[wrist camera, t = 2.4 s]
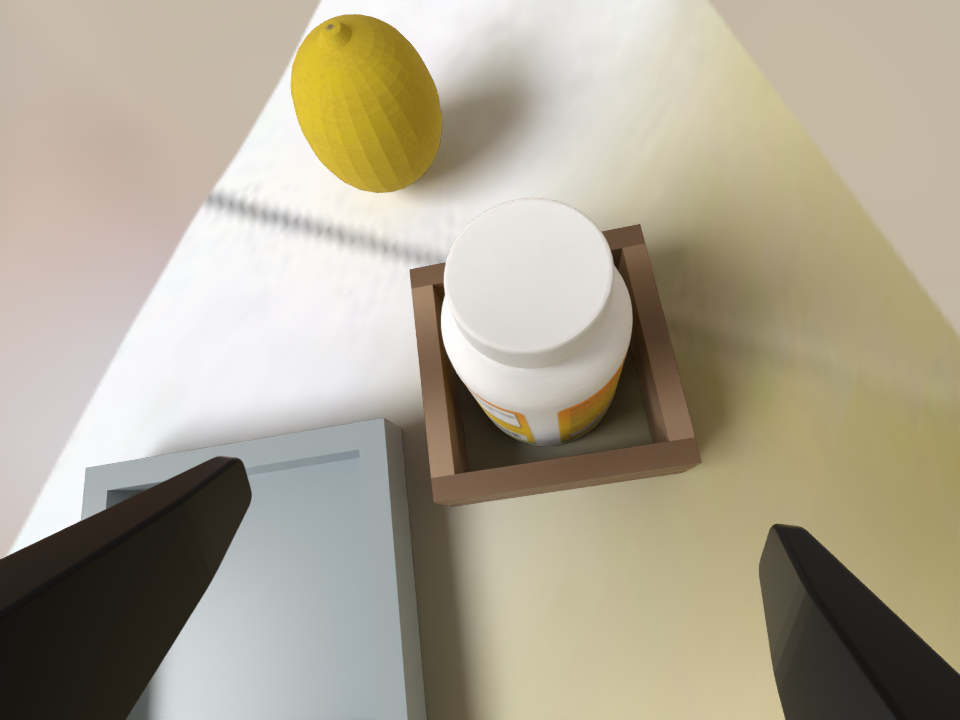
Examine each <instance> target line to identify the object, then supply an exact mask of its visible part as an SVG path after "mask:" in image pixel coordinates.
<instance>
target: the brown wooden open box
mask: <svg viewBox="0 0 960 720" xmlns="http://www.w3.org/2000/svg"><path fill="white" fill-rule="evenodd" d="M602 233H603V235H604V237H605V238H606V240H607V242H608V245H609V247H610V250H611V253H612V256H613V262H614V266H615V267H616V269H617V270H618V272H619V273H620V275H621V277H622V278H623V280H624V283H625V285H626V287H627V290H628V293H629V296H630V300H631V305H632V316H633V317H632V332H631V338H630V346H631V350H632V354H633V359H634V363H635V367H636V371H637V376H638V380H639V384H640V389H641V393H642V397H643V402H644V406H645V410H646V414H647V419H648V423H649V427H650V432H651V436H652V440H653V444H648V445H642V446H635V447H629V448H622V449H616V450H609V451H603V452H596V453H590V454H583V455H577V456H570V457H564V458H557V459H551V460H544V461H538V462H531V463H525V464H519V465H512V466H506V467H499V468H493V469H486V470H480V471H473V472H469V470H468V462H467V454H466V446H465V438H464V430H463V422H462V414H461V406H460V398H459V390H458V382H457V373H456V371H455V369H454V367H453V365H452V363H451V361H450V359H449V356H448V354H447V352H446V349H445V346H444V342H443V337H442V330H441V313H442V306H443V301H444V297H445V290H444V271H445V265H446V262H445V263H440V264H435V265H430V266H425V267H420V268H415V269H410V279H411V288H412V298H413V308H414V318H415V327H416V337H417V347H418V357H419V366H420V376H421V386H422V396H423V405H424V415H425V425H426V435H427V444H428V454H429V464H430V474H431V483H432V493H433V503H438V504H442V505H447V506H451V507H453V506H460V505H467V504H474V503H480V502H487V501H494V500H501V499H507V498H514V497H521V496H528V495H534V494H541V493H548V492H555V491H561V490H568V489H575V488H582V487H588V486H595V485H602V484H609V483H615V482H622V481H629V480H636V479H642V478H649V477H656V476H663V475H669V474H676V473H683V472H685V471H687V470H689V469H690V468H692V467H694V466H696V465H698V464H700V463H702V462H701V459H700V455H699V451H698V447H697V443H696V439H695V435H694V431H693V428H692V424H691V420H690V416H689V412H688V408H687V404H686V400H685V396H684V393H683V389H682V385H681V381H680V377H679V373H678V369H677V365H676V362H675V358H674V354H673V350H672V346H671V342H670V338H669V334H668V330H667V327H666V323H665V319H664V315H663V311H662V307H661V303H660V299H659V296H658V292H657V288H656V284H655V280H654V276H653V272H652V268H651V264H650V261H649V257H648V253H647V249H646V245H645V241H644V237H643V233H642V230H641V226H640V224H638V225H633V226H628V227H623V228H618V229H613V230H608V231H603V232H602Z"/></svg>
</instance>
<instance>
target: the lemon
mask: <svg viewBox="0 0 960 720" xmlns="http://www.w3.org/2000/svg"><path fill="white" fill-rule="evenodd" d="M291 94H292V98H293V103H294V107H295V111H296V115H297V119H298V122H299V124H300V127H301V130H302V132H303V134H304V136H305V138H306V139H307V141H308V143H309V144H310V146H311V148H312V149H313V151H314V153H315V154H316V156H317V157H318V158H319V160H320V161H321V162H322V163H323V164H324V166H326V167H327V168H328V169H329V170H330V171H331V172H332V173H333V174H334V175H336V176H337V177H338V178H339V179H340V180H342V181H343V182H345V183H347V184H349V185H351V186H353V187H356V188H358V189H360V190H364V191H369V192H375V193H383V192H393V191H396V190H400V189H403V188H405V187H407V186H409V185H411V184H412V183H414V182H415V181H416V180H418V179H419V178H420V177H421V176H422V175H423V174H424V173H425V172H426V171H427V169H428V168H429V167H430V165H431V164H432V162H433V160H434V158H435V156H436V153H437V151H438V149H439V145H440V139H441V132H442V115H441V109H440V103H439V97H438V93H437V89H436V86H435V84H434V81H433V79H432V77H431V75H430V73H429V71H428V69H427V68H426V66H425V64H424V62H423V60H422V59H421V57H420V55H419V54H418V52H417V51H416V49H415V48H414V47H413V46H412V44H411V43H410V42H409V41H408V40H407V39H406V38H405V37H404V36H403V35H402V34H401V33H400V32H399V31H397V30H396V29H395V28H394V27H392V26H391V25H389V24H387V23H385V22H383V21H381V20H379V19H376V18H373V17H369V16H364V15H356V14H355V15H342V16H337V17H334V18H331V19H329V20H327V21H325V22H323V23H322V24H320V25H319V26H317V27H316V28H314V29H313V30H312V31H311V32H310V33H309V34H308V35H307V37H306V38H305V40H304V41H303V43H302V44H301V46H300V47H299V49H298V52H297V55H296V57H295V60H294V63H293V66H292V76H291Z"/></svg>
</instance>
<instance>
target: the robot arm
mask: <svg viewBox="0 0 960 720" xmlns="http://www.w3.org/2000/svg"><path fill="white" fill-rule="evenodd" d="M251 499H252V491H251V487H250V483H249V480H248V476H247V473H246V469H245V466H244V463H243V461H242V460H241V459H240V458H237V457H230V456H216V457H214V458H212V459H210V460H208V461H205V462H203V463H201V464H199V465H197V466H195V467H193V468H191V469H189V470H187V471H184V472H182V473H180V474H178V475H176V476H174V477H172V478H170V479H168V480H166V481H164V482H161V483H159V484H157V485H155V486H153V487H151V488H149V489H147V490H145V491H143V492H141V493H138V494H136V495H134V496H132V497H130V498H128V499H126V500H124V501H122V502H120V503H118V504H115V505H113V506H111V507H109V508H107V509H105V510H103V511H101V512H99V513H97V514H94V515H92V516H90V517H88V518H86V519H84V520H82V521H80V522H78V523H76V524H74V525H71V526H69V527H67V528H65V529H63V530H61V531H59V532H57V533H55V534H53V535H51V536H48V537H46V538H44V539H42V540H40V541H38V542H36V543H34V544H32V545H30V546H28V547H25V548H23V549H21V550H19V551H17V552H15V553H13V554H11V555H9V556H7V557H4V558H2V559H0V720H126V719H127V718H128V716H129V715H130V713H131V711H132V710H133V708H134V707H135V705H136V703H137V702H138V700H139V698H140V697H141V695H142V694H143V692H144V690H145V689H146V687H147V686H148V684H149V682H150V681H151V679H152V678H153V676H154V674H155V673H156V671H157V669H158V668H159V666H160V665H161V663H162V661H163V660H164V658H165V657H166V655H167V653H168V652H169V650H170V648H171V647H172V645H173V644H174V642H175V640H176V639H177V637H178V636H179V634H180V632H181V631H182V629H183V628H184V626H185V624H186V623H187V621H188V619H189V618H190V616H191V615H192V613H193V611H194V610H195V608H196V607H197V605H198V603H199V602H200V600H201V598H202V597H203V595H204V594H205V592H206V590H207V589H208V587H209V585H210V583H211V582H212V580H213V578H214V576H215V574H216V573H217V571H218V569H219V567H220V565H221V563H222V561H223V559H224V557H225V555H226V553H227V551H228V549H229V547H230V545H231V543H232V541H233V539H234V536H235V534H236V532H237V530H238V528H239V526H240V524H241V522H242V520H243V518H244V516H245V514H246V512H247V510H248V508H249V506H250V503H251ZM759 578H760V585H761V591H762V598H763V605H764V612H765V619H766V625H767V632H768V639H769V646H770V653H771V659H772V665H773V671H774V676H775V681H776V685H777V689H778V693H779V697H780V701H781V705H782V708H783V712H784V716H785V720H960V674H959V673H958V672H957V671H955V670H954V669H953V668H952V667H951V666H950V665H949V664H948V663H947V662H946V661H945V660H944V659H943V658H942V657H941V656H940V655H938V654H937V653H936V652H935V651H934V650H933V649H932V648H931V647H930V646H929V645H928V644H927V643H926V642H925V641H924V640H923V639H922V638H920V637H919V636H918V635H917V634H916V633H915V632H914V631H913V630H912V629H911V628H910V627H909V626H908V625H907V624H906V623H905V622H903V621H902V620H901V619H900V618H899V617H898V616H897V615H896V614H895V613H894V612H893V611H892V610H891V609H890V608H889V607H888V606H886V605H885V604H884V603H883V602H882V601H881V600H880V599H879V598H878V597H877V596H876V595H875V594H874V593H873V592H872V591H871V590H870V589H868V588H867V587H866V586H865V585H864V584H863V583H862V582H861V581H860V580H859V579H858V578H857V577H856V576H855V575H854V574H853V573H851V572H850V571H849V570H848V569H847V568H846V567H845V566H844V565H843V564H842V563H841V562H840V561H839V560H838V559H837V558H836V557H834V556H833V555H832V554H831V553H830V552H829V551H828V550H827V549H826V548H825V547H824V546H823V545H822V544H821V543H820V542H819V541H818V540H816V539H815V538H814V537H813V536H812V535H811V534H810V533H809V532H808V531H807V530H806V529H804V528H802V527H799V526H793V525H785V524H774V525H773V526H772V527H771V528H770V530H769V533H768V536H767V540H766V543H765V546H764V549H763V552H762V556H761V559H760V564H759Z"/></svg>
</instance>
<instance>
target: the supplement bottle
mask: <svg viewBox="0 0 960 720" xmlns="http://www.w3.org/2000/svg"><path fill="white" fill-rule="evenodd" d="M444 290H445V297H444V301H443V306H442V313H441V330H442V337H443V342H444V346H445V349H446V352H447V354H448V356H449V359H450V361H451V363H452V365H453V367H454V369H455V371H456V372H457V374H458V376H459V377H460V378H461V380H462V381H463V383H464V384H465V385H466V387H467V388H468V389H469V391H470V392H471V393H472V395H473V396H474V398H475V399H476V400H477V402H478V403H479V405H480V406H481V408H482V409H483V410H484V412H485V413H486V414H487V416H488V417H489V418H490V419H491V421H492V422H493V423H494V424H495V425H496V426H497V427H498V428H499V429H501V430H502V431H503V432H504V433H506V434H507V435H509V436H511V437H512V438H514V439H516V440H519V441H521V442H524V443H527V444H531V445H538V446H554V445H561V444H564V443H568V442H571V441H573V440H575V439H578V438H580V437H581V436H583V435H585V434H586V433H588V432H589V431H590V430H591V429H593V428H594V427H595V426H596V425H597V424H598V423H599V422H600V421H601V419H602V418H603V417H604V415H605V414H606V412H607V410H608V409H609V406H610V404H611V402H612V400H613V397H614V394H615V391H616V387H617V384H618V380H619V377H620V374H621V370H622V367H623V364H624V361H625V357H626V354H627V350H628V347H629V343H630V338H631V332H632V317H633V316H632V305H631V300H630V296H629V293H628V290H627V287H626V285H625V283H624V280H623V278H622V277H621V275H620V273H619V272H618V270H617V269H616V267H615V266H614V262H613V256H612V253H611V250H610V247H609V245H608V242H607V240H606V238H605V237H604V235H603V233H602V232H601V230H600V229H599V228H598V227H597V226H596V224H595V223H594V222H593V221H592V220H591V219H589V218H588V217H587V216H586V215H584V214H583V213H582V212H580V211H579V210H577V209H575V208H573V207H571V206H569V205H567V204H564V203H562V202H558V201H554V200H549V199H543V198H524V199H517V200H512V201H508V202H505V203H502V204H499V205H497V206H495V207H493V208H490V209H488V210H486V211H485V212H483V213H481V214H480V215H479V216H477V217H476V218H475V219H474V220H472V221H471V222H470V223H469V224H468V225H467V226H466V227H465V228H464V229H463V230H462V232H461V233H460V234H459V236H458V237H457V238H456V240H455V242H454V243H453V245H452V247H451V249H450V252H449V254H448V258H447V261H446V265H445V271H444Z"/></svg>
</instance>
